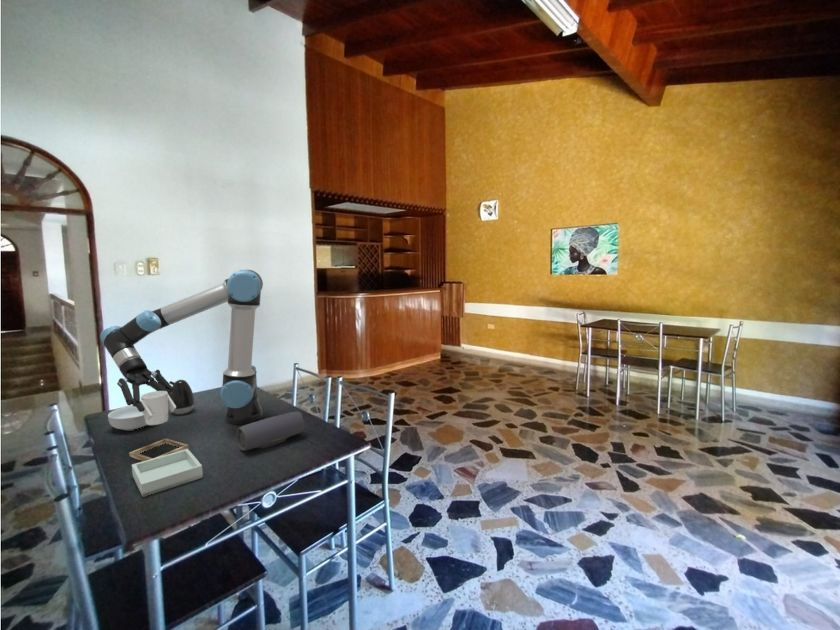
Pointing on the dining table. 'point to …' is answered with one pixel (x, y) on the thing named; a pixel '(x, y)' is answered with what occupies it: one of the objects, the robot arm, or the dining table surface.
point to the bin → (166, 472)
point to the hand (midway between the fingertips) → (162, 413)
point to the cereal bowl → (127, 418)
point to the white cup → (156, 406)
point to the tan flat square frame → (137, 452)
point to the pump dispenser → (182, 397)
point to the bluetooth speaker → (270, 431)
